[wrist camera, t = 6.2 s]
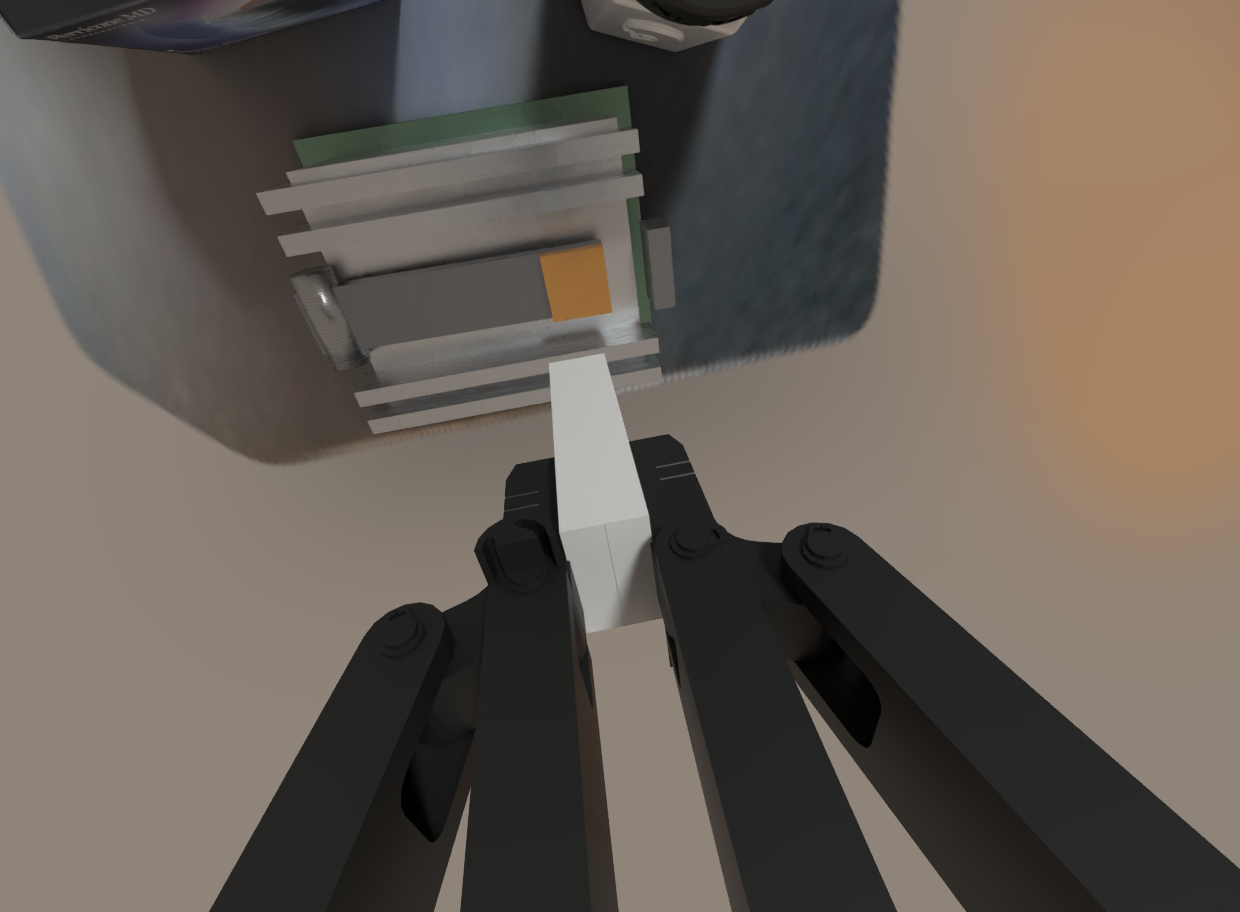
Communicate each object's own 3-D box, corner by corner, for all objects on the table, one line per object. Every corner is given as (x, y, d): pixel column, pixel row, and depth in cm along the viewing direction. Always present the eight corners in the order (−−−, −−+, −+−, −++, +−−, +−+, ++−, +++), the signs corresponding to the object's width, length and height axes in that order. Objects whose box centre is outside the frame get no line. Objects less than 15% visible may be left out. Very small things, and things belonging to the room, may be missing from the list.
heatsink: (296, 139, 26) (208, 155, 19) (625, 85, 27) (659, 82, 20) (400, 384, 34) (365, 460, 27) (651, 338, 35) (682, 400, 28)
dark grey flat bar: (339, 357, 26) (325, 374, 25) (296, 270, 24) (278, 282, 22) (611, 313, 26) (614, 326, 25) (597, 220, 24) (600, 229, 22)
